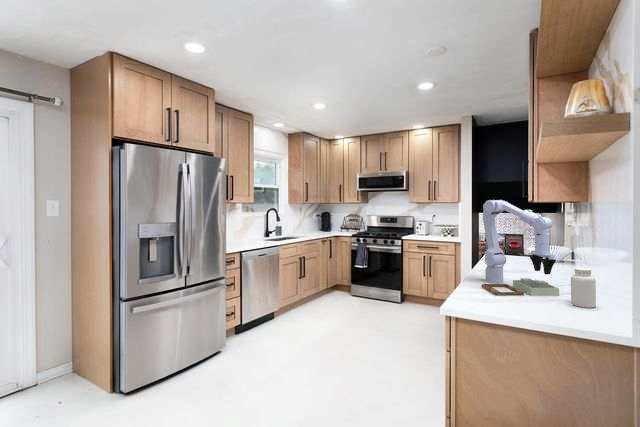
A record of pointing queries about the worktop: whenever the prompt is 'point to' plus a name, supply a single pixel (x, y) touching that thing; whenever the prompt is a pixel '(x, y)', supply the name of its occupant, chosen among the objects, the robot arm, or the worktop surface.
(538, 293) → the green bin
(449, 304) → the worktop surface
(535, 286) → the stone
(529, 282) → the grey rectangular block
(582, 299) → the pill bottle
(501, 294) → the walnut tray
